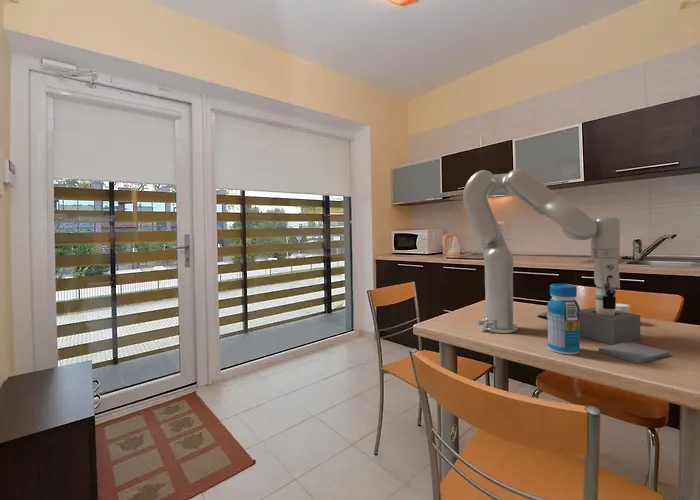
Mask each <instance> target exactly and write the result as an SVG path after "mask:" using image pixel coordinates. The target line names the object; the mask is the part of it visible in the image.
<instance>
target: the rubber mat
mask: <svg viewBox="0 0 700 500" xmlns="http://www.w3.org/2000/svg"><path fill="white" fill-rule="evenodd" d="M598 352H599V353H602V354H605V355H609V356H612V357H616V358H618V359H622V360H625V361H629V362H632V363H635V364H643V363H646V362H650V361H654V360H657V359H661V358H665V357H669V356H670V354H671V352H670V351H668V350H664V349H659V348H657V347H651V346H648V345H645V344H642V343H637V342H633V341H628V342H623V343H619V344H615V345H612V344H609V345H607V346H602V347H598Z"/></svg>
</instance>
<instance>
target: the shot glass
mask: <svg viewBox="0 0 700 500" xmlns="http://www.w3.org/2000/svg"><path fill="white" fill-rule="evenodd" d="M631 308H632V306H631V305H630V304H627V303H619V302H616V309H615V310H617V311H622V312H627V313H631Z"/></svg>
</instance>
